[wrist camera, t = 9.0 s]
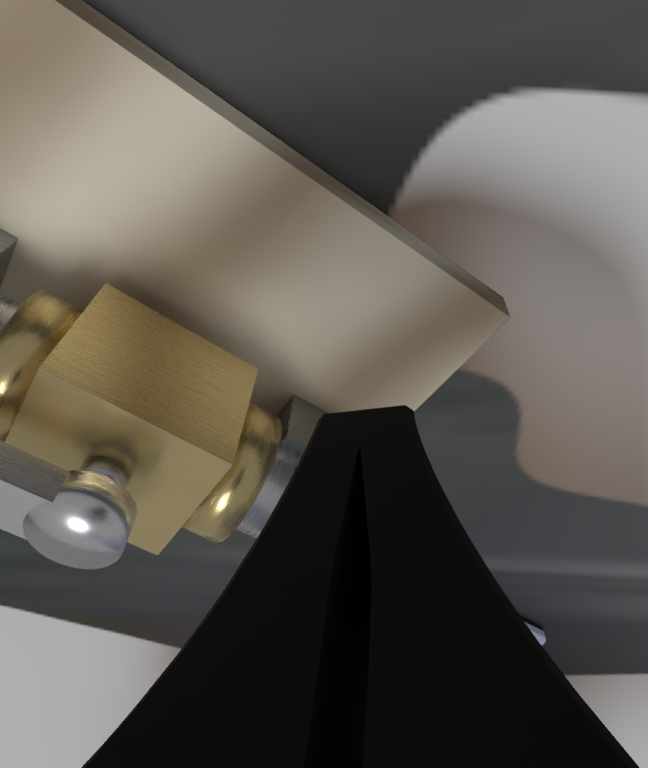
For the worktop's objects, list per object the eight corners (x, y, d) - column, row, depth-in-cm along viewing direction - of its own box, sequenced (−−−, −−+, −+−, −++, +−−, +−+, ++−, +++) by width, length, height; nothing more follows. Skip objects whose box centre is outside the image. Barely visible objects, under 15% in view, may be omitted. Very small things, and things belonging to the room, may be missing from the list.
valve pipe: (382, 423, 19) (386, 560, 15) (309, 496, 22) (294, 634, 17) (-90, 151, 15) (-277, 234, 11) (-118, 279, 17) (-282, 390, 13)
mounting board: (502, 297, 18) (510, 317, 17) (278, 523, 24) (275, 547, 23) (-33, -81, 13) (-65, -84, 12) (-126, 328, 20) (-152, 347, 19)
